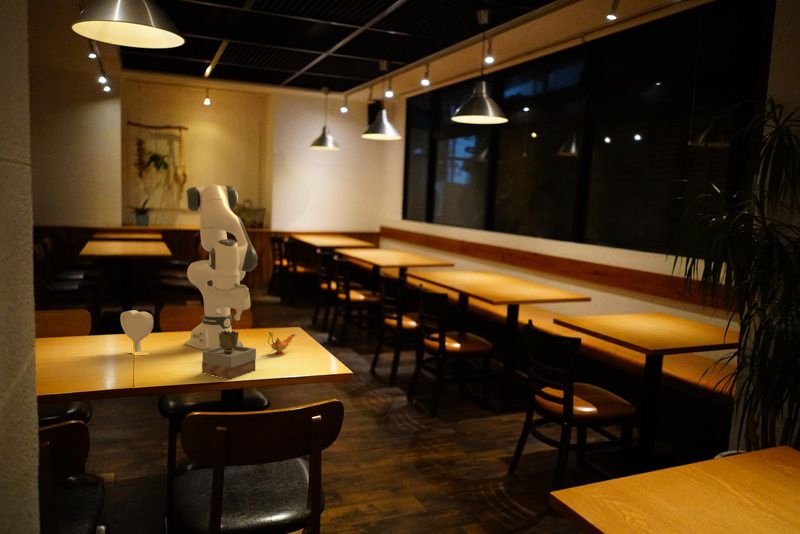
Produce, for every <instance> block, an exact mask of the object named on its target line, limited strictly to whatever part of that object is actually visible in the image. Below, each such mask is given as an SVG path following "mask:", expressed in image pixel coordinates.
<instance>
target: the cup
mask: <svg viewBox="0 0 800 534" xmlns="http://www.w3.org/2000/svg"><path fill="white" fill-rule="evenodd" d="M239 334H240V333H239V331H235V330H232V332H231V333H230V331H228V332H227V331H224V332H222V331H221V334H220V333H219V341H220V345H221V347H222V348H223V349H224V353H232V352H233V351H234V350H233V349H234V348H235V347H236V346H237V342H238V340H239Z"/></svg>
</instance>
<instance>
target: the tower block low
mask: <svg viewBox="0 0 800 534" xmlns="http://www.w3.org/2000/svg"><path fill="white" fill-rule="evenodd" d="M252 371H253V372H255V371H256V359H255V360H252V361H250V362H247V363H244V364H241V365H238V366H236V367H233V368H229V367H223V366H218V365H213V364H208V363H203V361H201V373H206V374H209V375H208V376H210V375H214V376H218V377H217V378H219V377H222V378H221V379H223V378H226V379H225V380H227V379H230V380H233V379H235V377H236V378H238V377H241V375H242V376H244V374H245V375H246V374H247V373H248V374H249V373H250V374H251V373H253V372H252ZM206 374H205V375H206ZM214 376H213V377H214ZM232 378H233V379H232Z"/></svg>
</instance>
